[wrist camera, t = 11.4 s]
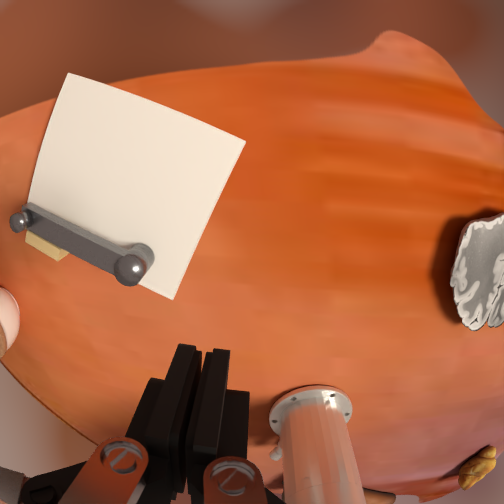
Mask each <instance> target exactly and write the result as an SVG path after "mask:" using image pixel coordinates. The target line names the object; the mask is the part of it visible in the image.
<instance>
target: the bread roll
mask: <svg viewBox="0 0 504 504" xmlns="http://www.w3.org/2000/svg"><path fill="white" fill-rule="evenodd" d="M495 453H496V448H495V447H494V446H489V447H486V448H485V449H483V450H482V451H480V452H479V453H478V454H477V456H475V457H473V458H471V459H470V460H468V461H467V462H466V463H465V464H464V465H463V466H462V467H461V468H460V470H459V477H460V478H459V479H458V483H459V485H460V486H461V488H462V489H463V490H467V489H469V488H470V487H471V486H472V485H474V484H475V482H477V481H479V480H480V479H482V478H483V477H484V476H485V474H487V473H488V472H490V471H491V470H492V469H493V468H494V467H495V464H496V459H495V457H494V456H495Z"/></svg>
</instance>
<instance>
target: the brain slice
mask: <svg viewBox="0 0 504 504" xmlns="http://www.w3.org/2000/svg"><path fill="white" fill-rule="evenodd" d="M450 286H451V287H453V297H454V302H455V303H456V307H457V312H458V315H459V316H460V318H461V319H462V323H463V325H464V326H466V327H469V329H470V330H471V331H477V330H479V329H480V328H481V327H483V326H484V324H485V323H486V321H487V323H488V326H489V327H490V328H491V327H498V326H500V325H501V324H502V323H503V322H504V213H499V214H498V215H496V216H492V217H490V218H481V219H479V220H478V219H477V220H472V221H470V222H468V223H467V224H466V225H465V226H464V228H463V229H462V231H461V235H460V238H459V243H458V247H457V250H456V255H455V262H454V264H453V266H452V267H451V279H450Z"/></svg>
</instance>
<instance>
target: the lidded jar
mask: <svg viewBox="0 0 504 504" xmlns="http://www.w3.org/2000/svg"><path fill="white" fill-rule="evenodd" d="M19 327H20V310H19V306H18V304H17V301H16V300H15V298H14V297H13V295H12V294H11V293H10V292H9V291H8V290H6V289H5V288H1V287H0V358H2V356H3V355H4V354H5V353H6V351H7V350H8V349H9V348H10V346H11V345H12V344H13V342H14V341H15V339H16V337H17V335H18V332H19Z"/></svg>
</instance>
